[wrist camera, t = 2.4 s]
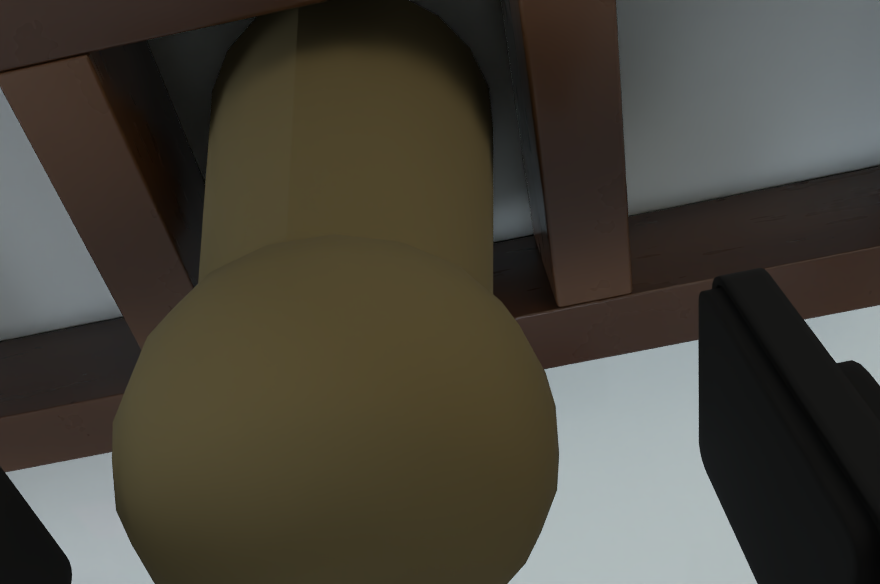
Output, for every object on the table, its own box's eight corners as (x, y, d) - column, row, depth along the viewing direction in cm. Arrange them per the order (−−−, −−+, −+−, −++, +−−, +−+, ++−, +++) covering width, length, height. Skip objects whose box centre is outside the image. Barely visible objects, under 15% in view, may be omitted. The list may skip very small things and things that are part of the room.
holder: (-429, 31, 15) (-584, 91, 12) (1065, -306, 14) (1218, -313, 11) (-110, 415, 21) (-173, 507, 18) (952, 207, 19) (1036, 276, 17)
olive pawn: (486, 246, 19) (589, 704, 10) (230, 253, 19) (103, 736, 10) (502, -15, 16) (680, 332, 7) (188, -14, 15) (-70, 356, 6)
